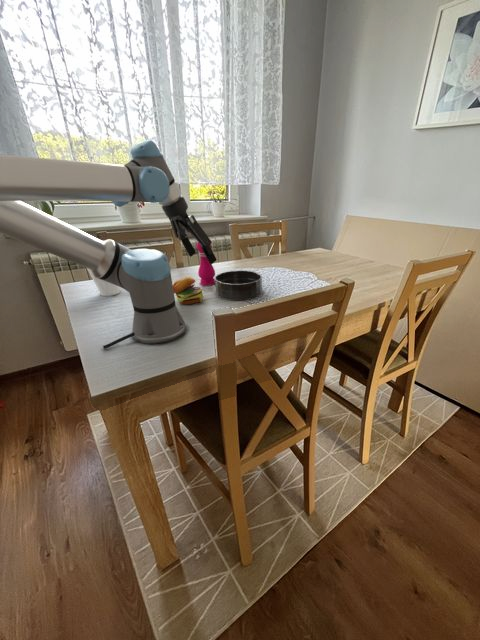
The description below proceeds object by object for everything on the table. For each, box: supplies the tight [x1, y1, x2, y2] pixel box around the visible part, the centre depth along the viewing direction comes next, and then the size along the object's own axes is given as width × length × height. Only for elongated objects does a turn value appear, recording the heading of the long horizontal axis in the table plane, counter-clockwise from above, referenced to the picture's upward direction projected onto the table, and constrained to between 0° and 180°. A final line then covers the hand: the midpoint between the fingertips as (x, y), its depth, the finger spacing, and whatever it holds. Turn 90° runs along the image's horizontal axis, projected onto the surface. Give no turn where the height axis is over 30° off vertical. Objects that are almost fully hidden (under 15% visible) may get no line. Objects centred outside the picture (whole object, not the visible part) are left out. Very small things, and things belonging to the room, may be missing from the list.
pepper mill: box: [196, 241, 216, 286], centre depth 124 cm, size 7×7×20 cm
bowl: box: [214, 270, 263, 301], centre depth 117 cm, size 19×19×6 cm
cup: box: [86, 268, 120, 297], centre depth 116 cm, size 12×12×12 cm
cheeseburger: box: [172, 276, 205, 305], centre depth 109 cm, size 10×11×10 cm
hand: (202, 258), depth 105 cm, fingers open, 13 cm apart
